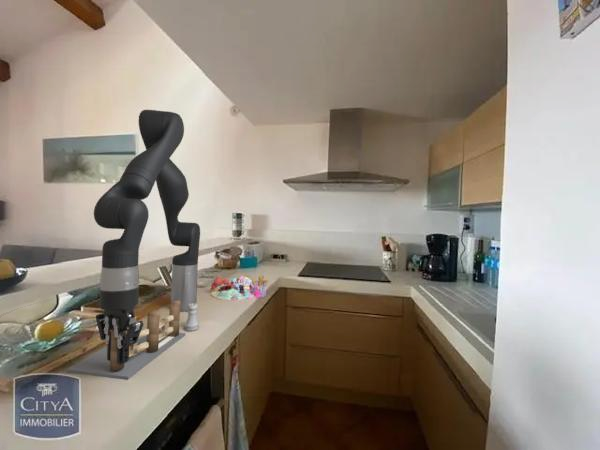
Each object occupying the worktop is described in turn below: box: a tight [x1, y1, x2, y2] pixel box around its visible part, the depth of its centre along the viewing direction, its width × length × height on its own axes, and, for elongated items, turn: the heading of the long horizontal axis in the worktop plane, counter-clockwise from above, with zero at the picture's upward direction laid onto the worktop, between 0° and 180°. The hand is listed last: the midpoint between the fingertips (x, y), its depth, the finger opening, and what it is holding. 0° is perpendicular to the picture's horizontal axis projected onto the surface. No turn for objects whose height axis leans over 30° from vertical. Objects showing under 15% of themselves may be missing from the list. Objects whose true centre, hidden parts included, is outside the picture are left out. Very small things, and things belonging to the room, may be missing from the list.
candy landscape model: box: [210, 274, 269, 302], centre depth 134 cm, size 25×24×9 cm
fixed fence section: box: [146, 300, 181, 353], centre depth 79 cm, size 13×3×10 cm, turn 173°
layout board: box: [66, 328, 186, 380], centre depth 75 cm, size 24×15×1 cm, turn 173°
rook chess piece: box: [184, 303, 200, 332], centre depth 91 cm, size 4×4×8 cm
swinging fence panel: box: [110, 328, 149, 371], centre depth 68 cm, size 10×3×9 cm, turn 162°
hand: (117, 360), depth 65 cm, fingers closed on swinging fence panel, 3 cm apart
